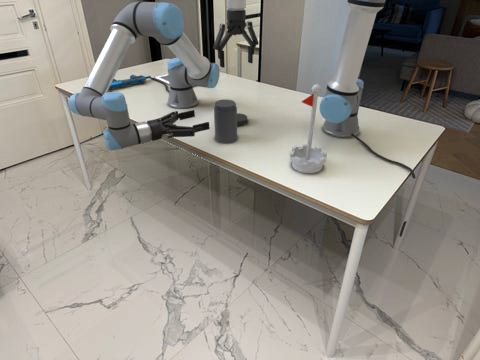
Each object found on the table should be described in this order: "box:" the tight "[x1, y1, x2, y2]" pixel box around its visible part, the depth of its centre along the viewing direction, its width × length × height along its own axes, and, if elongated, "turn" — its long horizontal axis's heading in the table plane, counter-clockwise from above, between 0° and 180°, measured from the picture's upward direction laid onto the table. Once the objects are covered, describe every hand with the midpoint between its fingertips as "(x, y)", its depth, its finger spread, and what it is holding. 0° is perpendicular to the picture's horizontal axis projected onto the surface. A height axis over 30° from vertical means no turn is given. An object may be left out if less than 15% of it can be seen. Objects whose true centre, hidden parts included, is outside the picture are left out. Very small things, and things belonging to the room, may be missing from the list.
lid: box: [237, 112, 249, 127], centre depth 158 cm, size 10×10×2 cm
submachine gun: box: [108, 74, 152, 92], centre depth 206 cm, size 34×4×25 cm
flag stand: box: [289, 83, 328, 174], centre depth 116 cm, size 13×13×30 cm
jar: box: [213, 99, 238, 144], centre depth 140 cm, size 9×9×16 cm
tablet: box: [153, 73, 196, 88], centre depth 212 cm, size 32×20×1 cm, turn 41°
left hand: (201, 119), depth 133 cm, fingers open, 13 cm apart
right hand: (236, 64), depth 144 cm, fingers open, 13 cm apart
